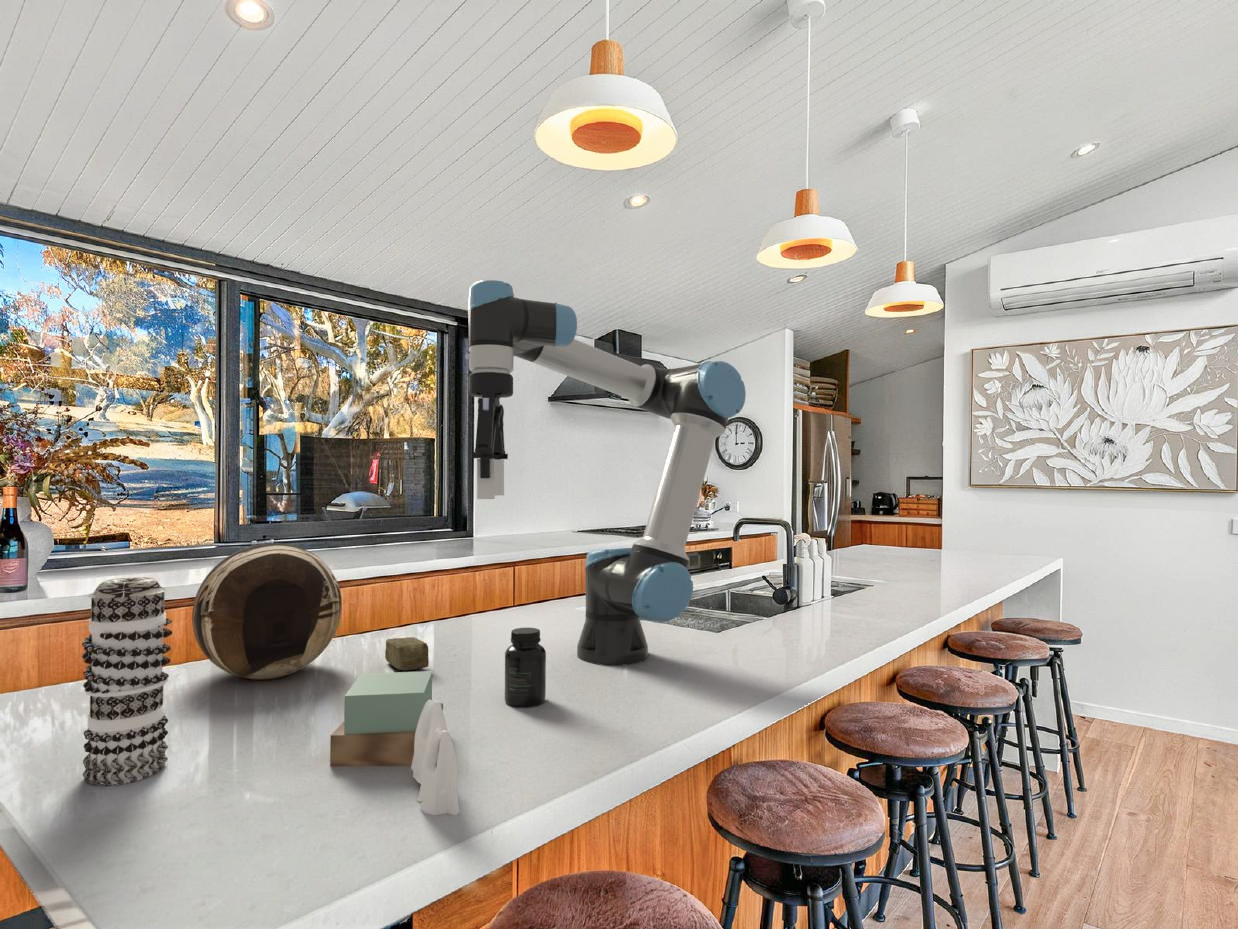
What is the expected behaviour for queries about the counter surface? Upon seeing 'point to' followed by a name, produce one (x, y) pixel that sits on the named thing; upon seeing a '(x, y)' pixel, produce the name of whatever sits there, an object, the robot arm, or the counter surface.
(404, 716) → the sage top block
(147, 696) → the decorative candle
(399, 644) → the stone block
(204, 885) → the counter surface
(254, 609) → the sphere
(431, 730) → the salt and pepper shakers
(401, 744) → the walnut base block
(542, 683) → the supplement bottle
